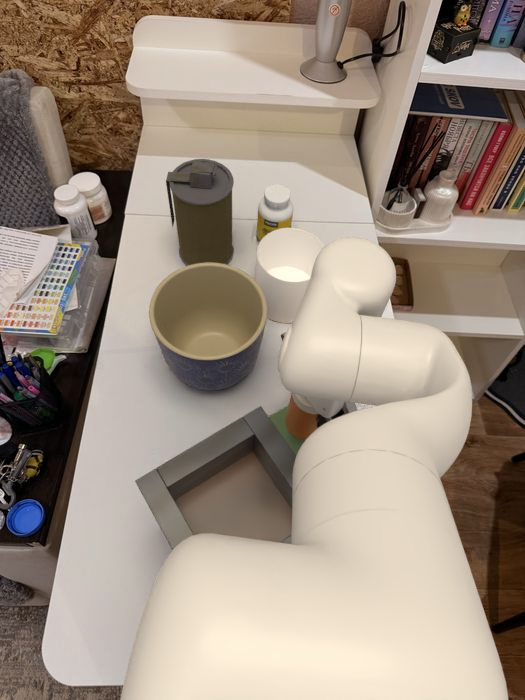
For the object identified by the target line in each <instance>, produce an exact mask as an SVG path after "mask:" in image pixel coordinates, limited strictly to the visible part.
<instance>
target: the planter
mask: <svg viewBox="0 0 525 700" xmlns="http://www.w3.org/2000/svg"><path fill="white" fill-rule="evenodd" d="M149 301H150V302H149V306H148V318H149V324H150V326H151V329H152V332H153V335H154V337H155V339H156V341H157V344H158V346H159V349H160V352H161V354H162V356H163V359H164V362H165V363H166V365H167V367H168V368H169V370H170V371H171V372H172V374H173V375H174V376H175V377H176V378H178V379H179V380H180V381H182V382H183V383H184V384H185V385H188V386H190V387H192V388H195V389H199V390H204V391H217V390H223V389H225V388H229V387H231V386H233V385H235V384H237V383H238V382H240V381H241V380H243V379H244V378H245V377H246V376H247V375H248V373H249V372H250V371H251V370H252V368H253V367H254V365H255V363H256V362H257V359H258V357H259V353H260V349H261V345H262V341H263V336H264V333H265V328H266V323H267V320H268V318H267V312H268V311H267V302H266V298H265V295H264V293H263V291H262V289H261V288H260V286H259V285H258V284H257V282H256V281H255V278H253V277H252V276H251V275H249V274H248V273H246V271H243V270H241V269H240V268H237V267H236V266H233V265H230V264H227V265H226V264H222V263H213V262H205V263H197V264H192V265H188V266H186V265H185V266H183V267H180V268H178V269H177V270H174V271H173V272H172V273H170V274H168V275H167V276H166V277H165V278H164V279H163V280H162V281H161V282H160V283H159V284H158V285H157V287H156V288H155V290H154V291H153V294H152V296H151V299H150V300H149Z"/></svg>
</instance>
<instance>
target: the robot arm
mask: <svg viewBox="0 0 525 700" xmlns="http://www.w3.org/2000/svg"><path fill="white" fill-rule="evenodd" d="M324 246H325V247H324V248H323V249H322V250H321V251H320V253H319V254H318V256H317V257H316V259H315V262H314V266H313V269H312V274H311V277H310V280H309V283H308V286H307V289H306V291H305V294H304V297H303V299H302V302H301V304H300V307H299V309H298V312H297V314H296V317H295V319H294V322H293V323H291V325H290V326H289V327H288V328H287V329H286V331H285V332H283V333H282V334H280V338H281V344H280V348H279V351H278V360H277V370H278V374H279V378H280V382H281V383H282V386H283V387H284V388H285V389H286V390H287V391H288V392H290V393H294V394H297V395H302V396H305V397H306V398H307V399H308V400H309V402H310V403H311V404H312V406H313V407H314V408H315V409H316V411H317V412H318V413H319V414H320V417H319V420H318V422H317V427H318V429H316V430H315V431H314V432H313V433H312V434H311V435H310V436H309V437H308V438H307V439H306V440H305V442H304V443H303V444H302V446H301V447H300V449H299V451H298V453H297V456H296V459H295V462H294V467H293V490H292V536H291V544H286V543H279V542H272V541H264V540H257V539H250V538H242V537H235V536H227V535H220V534H214V533H201V534H197V535H193V536H190V537H188V538H187V539H185V540H183V541H182V542H181V543H179V544H178V545H177V546H176V547H175V548H174V549H173V550H172V549H171V552H170V553H169V554H168V556H167V558H166V559H165V560H164V562H163V563H162V566H161V568H160V569H159V571H158V573H157V574H156V577H155V580H154V582H153V584H152V586H151V589H150V591H149V595H148V597H147V600H146V602H145V606H144V609H143V612H142V614H141V618H140V621H139V624H138V628H137V632H136V634H135V638H134V642H133V645H132V649H131V652H130V657H129V661H128V664H127V668H126V669H127V670H126V673H125V677H124V681H123V685H122V688H121V694H120V699H119V700H509V694H508V687H507V681H506V677H505V673H504V670H503V666H502V663H501V659H500V655H499V653H498V650H497V647H496V643H495V639H494V636H493V633H492V631H491V628H490V625H489V621H488V619H487V616H486V613H485V610H484V607H483V603H482V600H481V597H480V594H479V591H478V589H477V585H476V582H475V579H474V576H473V573H472V569H471V567H470V563H469V560H468V558H467V555H466V552H465V550H464V546H463V543H462V540H461V537H460V534H459V531H458V528H457V523H456V522H455V518H454V516H453V513H452V510H451V507H450V503H449V500H448V497H447V495H446V491H445V489H444V485H443V483H442V480H441V478H442V477H443V476H444V475H445V474H446V473H447V471H448V470H449V469H450V468H451V466H453V464H454V462H455V461H456V460H457V458H459V455H460V453H461V451H462V450H463V448H464V445H465V444H466V441H467V438H468V435H469V431H470V427H471V421H472V416H473V415H472V414H473V389H472V381H471V376H470V373H469V371H468V368H467V366H466V364H465V362H464V360H463V359H462V356H461V354H460V353H459V351H458V349H457V347H456V346H455V344H454V342H453V341H452V340H451V339H450V337H449V336H448V335H447V334H446V333H445V332H443V331H442V330H441V329H439V328H437V327H435V326H433V325H430V324H427V323H424V322H417V321H412V320H405V319H397V318H389V317H383V314H384V312H385V310H386V308H387V305H388V304H389V301H390V299H391V297H392V295H393V292H394V289H395V287H396V283H397V270H396V265H395V262H394V261H393V259H392V257H391V256H390V255H389V253H388V252H387V250H385V249H384V247H382V246H380V245H379V244H377V243H376V242H374V241H372V240H369V239H368V238H367V239H366V238H363V237H356V236H347V237H342V238H338V239H335V240H333V241H331V242H330V243H328V244H326V245H324ZM356 404H363V405H370V406H371V407H367V408H363V409H358V407H357V405H356Z"/></svg>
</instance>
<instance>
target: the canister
mask: <svg viewBox="0 0 525 700" xmlns="http://www.w3.org/2000/svg"><path fill="white" fill-rule="evenodd" d="M234 184H235V181H234V176H233V174H232V172H231V170H230V169H229V168H228V167H227V166H226V165H224V164H223V163H221V162H219V161H217V160H214V159H213V160H212V159H207V158H194V159H191V160H187V161H184V162H181V164H179V165H178V166H177V167H175V168H174V170H172V171H168V172H167V175H166V179H165V185H166V192H167V199H168V205H169V213H170V219H171V225H172V228H174V225H175V224H176V231H177V239H178V254H179V258H180V259H181V261H182V263H183V264H184V265H185V267H186V266H188V265H192V264H197V263H205V262H213V263H222V264H226V265H229V264H230V262H231V260H232V259H233V256H234V249H235V247H234V245H233V188H234Z"/></svg>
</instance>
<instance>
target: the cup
mask: <svg viewBox="0 0 525 700" xmlns="http://www.w3.org/2000/svg"><path fill="white" fill-rule="evenodd" d="M325 246H326V245H325V244H324V243H323V242H322V240H321V239H320V238H318V237H317V235H315V234H313V233H312V232H310V231H307V230H306V229H302V228H297V227H291V228H281V229H278V230H274V231H272V232H270V233H268V234H267V235H266V236H265V237H263V238H262V240H261V241H260V242H258V245H257V247H256V254H255V256H256V257H255V266H254V267H255V269H254V280H255V281H256V282H257V284H258V285H259V286H260V288H261V289H262V291H263V293H264V295H265V298H266V302H267V311H268V312H267V319H268V320H271V321H273V322H277V323H281V324H293V322H294V319H295V317H296V314H297V312H298V309H299V307H300V304H301V302H302V299H303V297H304V294H305V291H306V289H307V286H308V283H309V280H310V277H311V274H312V269H313V266H314V262H315V259H316V257H317V256H318V254H319V253H320V251H321V250H322V249H323V248H324V247H325Z"/></svg>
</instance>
